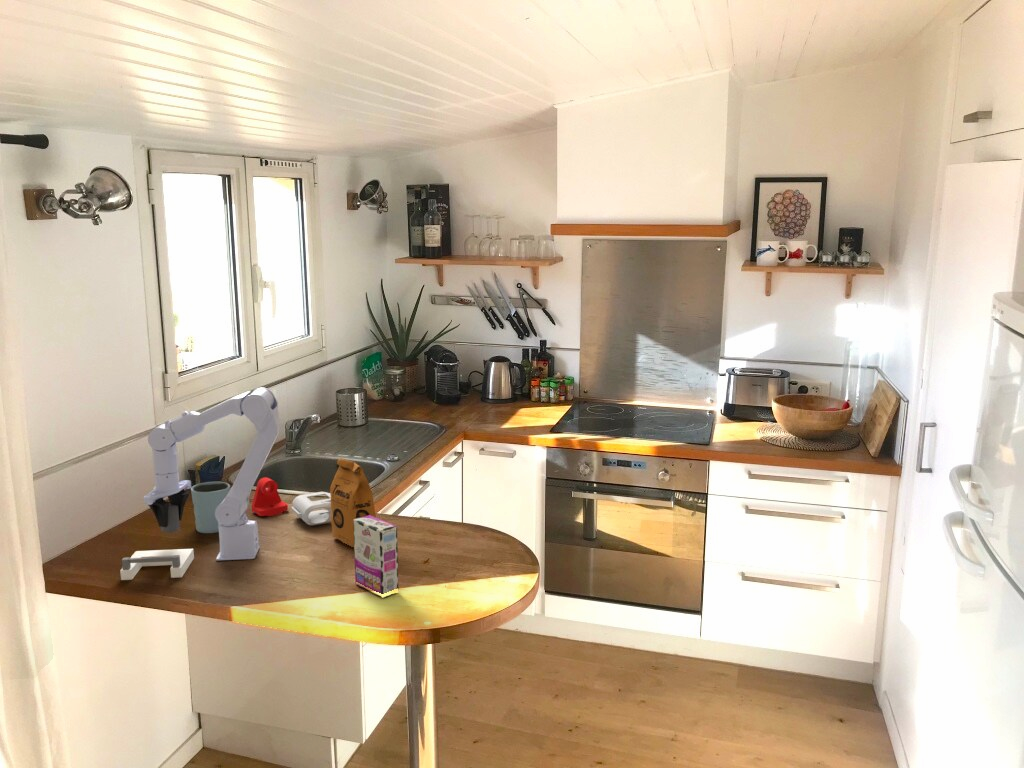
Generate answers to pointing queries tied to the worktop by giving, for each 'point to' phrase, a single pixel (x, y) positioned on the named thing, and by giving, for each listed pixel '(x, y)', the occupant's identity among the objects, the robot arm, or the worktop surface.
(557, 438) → the worktop surface
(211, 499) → the pale teal cup
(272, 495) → the bracket
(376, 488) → the worktop surface
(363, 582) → the candy bar box
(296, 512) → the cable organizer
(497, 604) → the worktop surface
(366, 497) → the coffee package
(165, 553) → the white frame with crossbar
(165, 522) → the robot arm
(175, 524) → the grey rounded cylinder
